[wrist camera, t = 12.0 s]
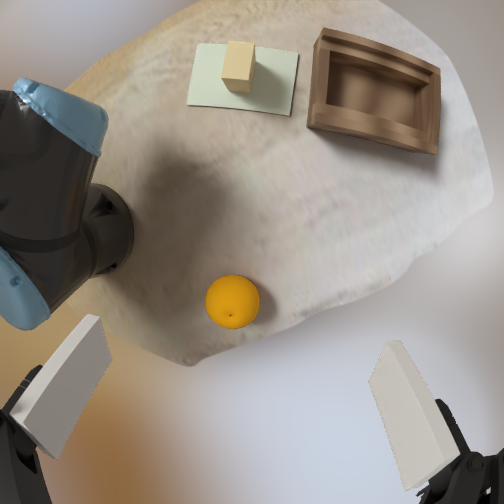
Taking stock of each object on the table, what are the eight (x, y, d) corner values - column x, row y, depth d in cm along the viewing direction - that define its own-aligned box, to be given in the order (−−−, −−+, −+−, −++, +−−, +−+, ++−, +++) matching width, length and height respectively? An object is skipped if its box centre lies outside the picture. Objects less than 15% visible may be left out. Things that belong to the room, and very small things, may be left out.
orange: (208, 307, 44) (199, 335, 37) (211, 264, 41) (201, 287, 34) (256, 314, 44) (255, 343, 37) (263, 271, 41) (264, 297, 34)
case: (306, 127, 33) (316, 122, 27) (314, 45, 29) (323, 27, 22) (413, 152, 33) (436, 154, 27) (417, 76, 29) (440, 68, 23)
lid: (187, 105, 33) (170, 95, 26) (199, 45, 29) (185, 24, 22) (288, 116, 33) (295, 107, 26) (297, 54, 30) (306, 33, 22)
